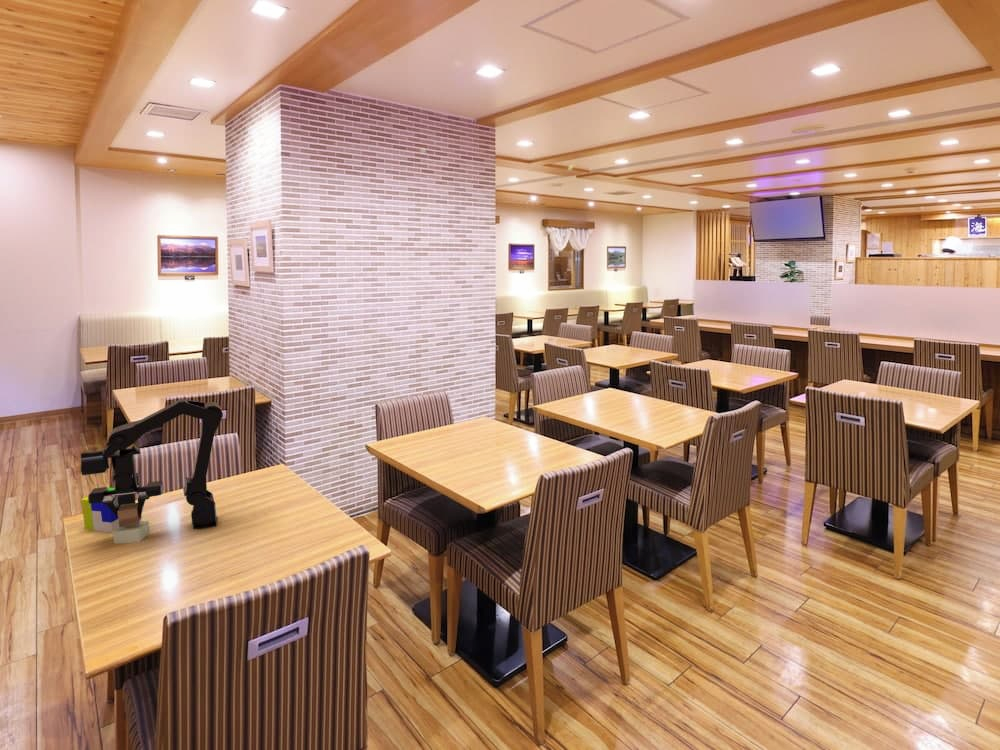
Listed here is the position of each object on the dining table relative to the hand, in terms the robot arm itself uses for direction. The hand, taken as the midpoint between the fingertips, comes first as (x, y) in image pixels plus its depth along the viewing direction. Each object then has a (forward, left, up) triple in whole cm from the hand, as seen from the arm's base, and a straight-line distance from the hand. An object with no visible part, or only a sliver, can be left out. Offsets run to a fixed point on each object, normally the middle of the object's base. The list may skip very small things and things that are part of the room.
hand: (130, 518), depth 184 cm
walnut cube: (0, 0, -1) cm, 1 cm away
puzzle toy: (+8, -13, -6) cm, 17 cm away
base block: (0, 0, -6) cm, 7 cm away
